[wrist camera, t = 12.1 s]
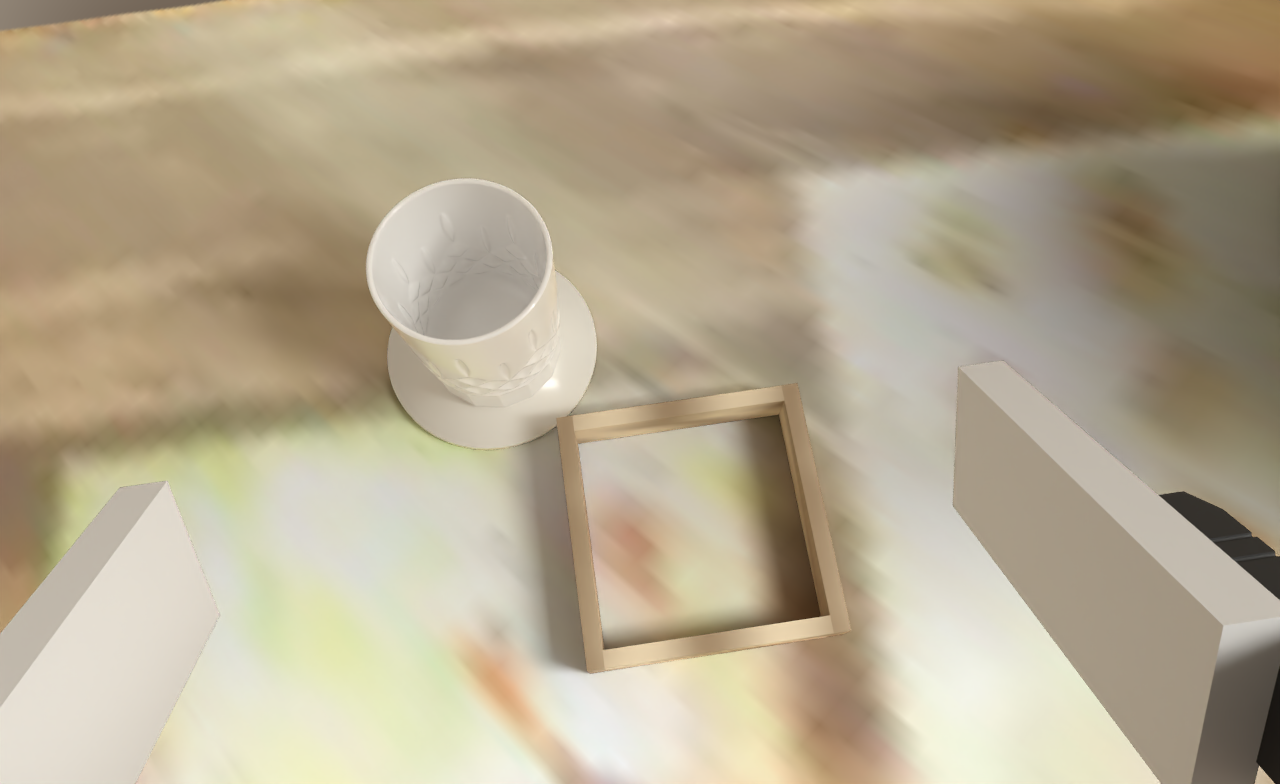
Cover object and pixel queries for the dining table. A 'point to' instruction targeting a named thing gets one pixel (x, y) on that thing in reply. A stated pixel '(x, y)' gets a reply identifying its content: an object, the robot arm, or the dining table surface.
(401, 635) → the dining table surface
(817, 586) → the frame
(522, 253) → the white cup
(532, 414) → the coaster
